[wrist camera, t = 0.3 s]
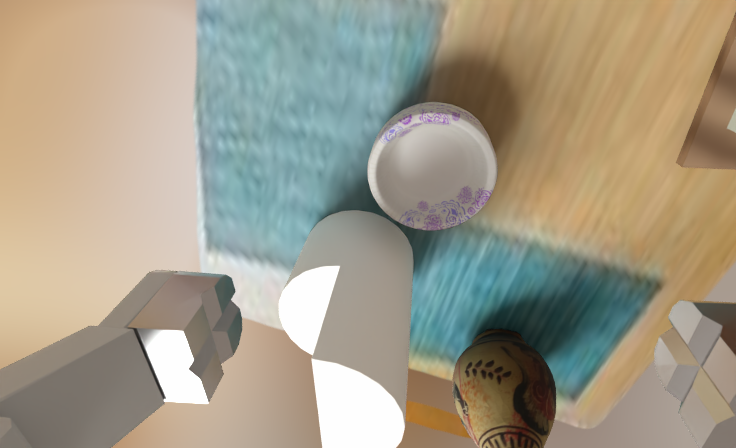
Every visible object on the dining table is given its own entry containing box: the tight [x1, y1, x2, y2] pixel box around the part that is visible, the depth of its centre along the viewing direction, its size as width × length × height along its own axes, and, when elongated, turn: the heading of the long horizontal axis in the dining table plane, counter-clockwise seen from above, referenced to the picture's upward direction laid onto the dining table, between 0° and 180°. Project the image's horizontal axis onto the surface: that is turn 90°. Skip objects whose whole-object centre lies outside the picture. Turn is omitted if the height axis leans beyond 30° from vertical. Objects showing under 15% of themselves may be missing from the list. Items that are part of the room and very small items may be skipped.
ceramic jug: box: [453, 329, 556, 448], centre depth 60 cm, size 17×15×30 cm
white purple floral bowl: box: [368, 102, 498, 230], centre depth 52 cm, size 15×15×8 cm
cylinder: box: [279, 210, 414, 448], centre depth 54 cm, size 17×17×28 cm
